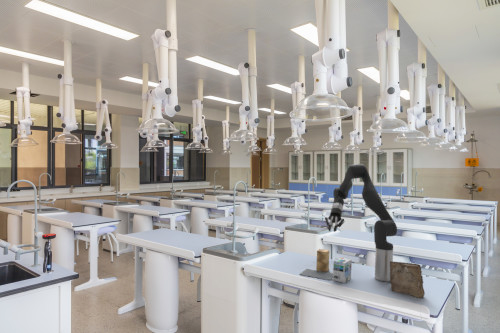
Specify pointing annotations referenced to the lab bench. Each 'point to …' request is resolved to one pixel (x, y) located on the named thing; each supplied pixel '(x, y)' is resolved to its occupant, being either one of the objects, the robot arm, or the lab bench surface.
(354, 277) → the lab bench surface
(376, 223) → the robot arm
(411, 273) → the mineral sample
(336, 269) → the light bulb box
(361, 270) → the lab bench surface
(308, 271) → the mat
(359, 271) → the lab bench surface
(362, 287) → the lab bench surface
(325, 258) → the oak block
